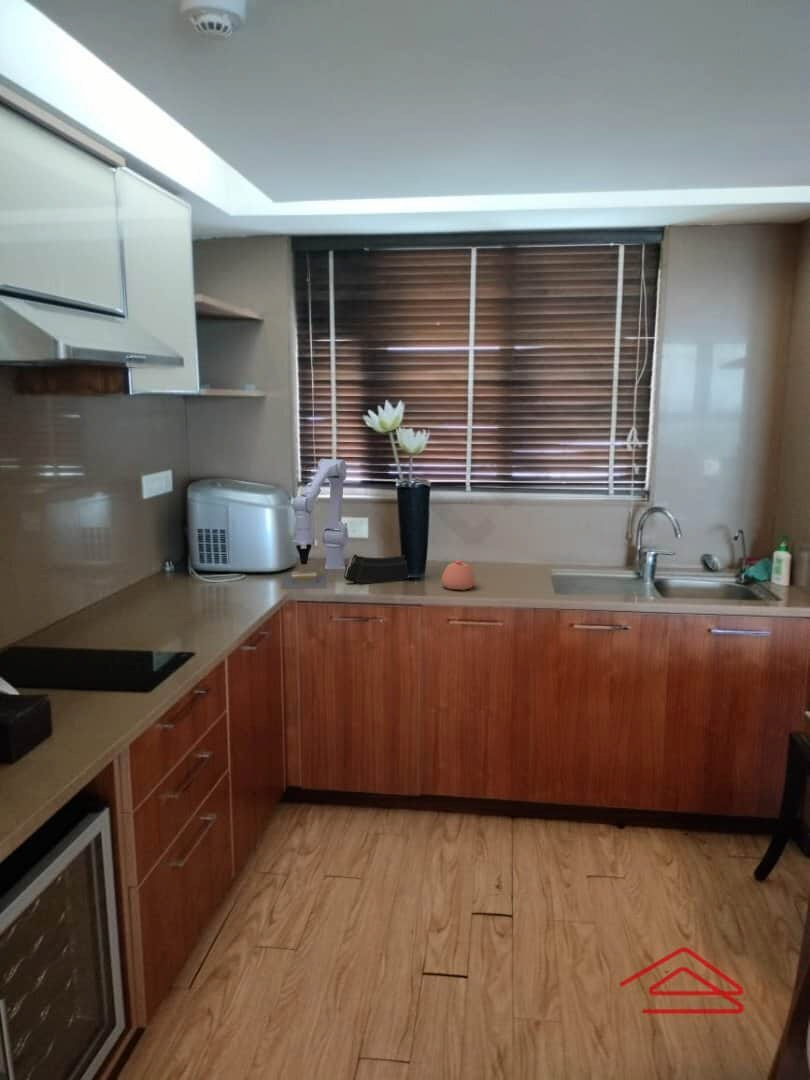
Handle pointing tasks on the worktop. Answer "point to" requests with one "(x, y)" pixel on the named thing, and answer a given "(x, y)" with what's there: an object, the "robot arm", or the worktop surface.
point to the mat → (289, 585)
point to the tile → (303, 577)
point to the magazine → (376, 569)
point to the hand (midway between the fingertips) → (304, 564)
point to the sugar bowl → (458, 576)
